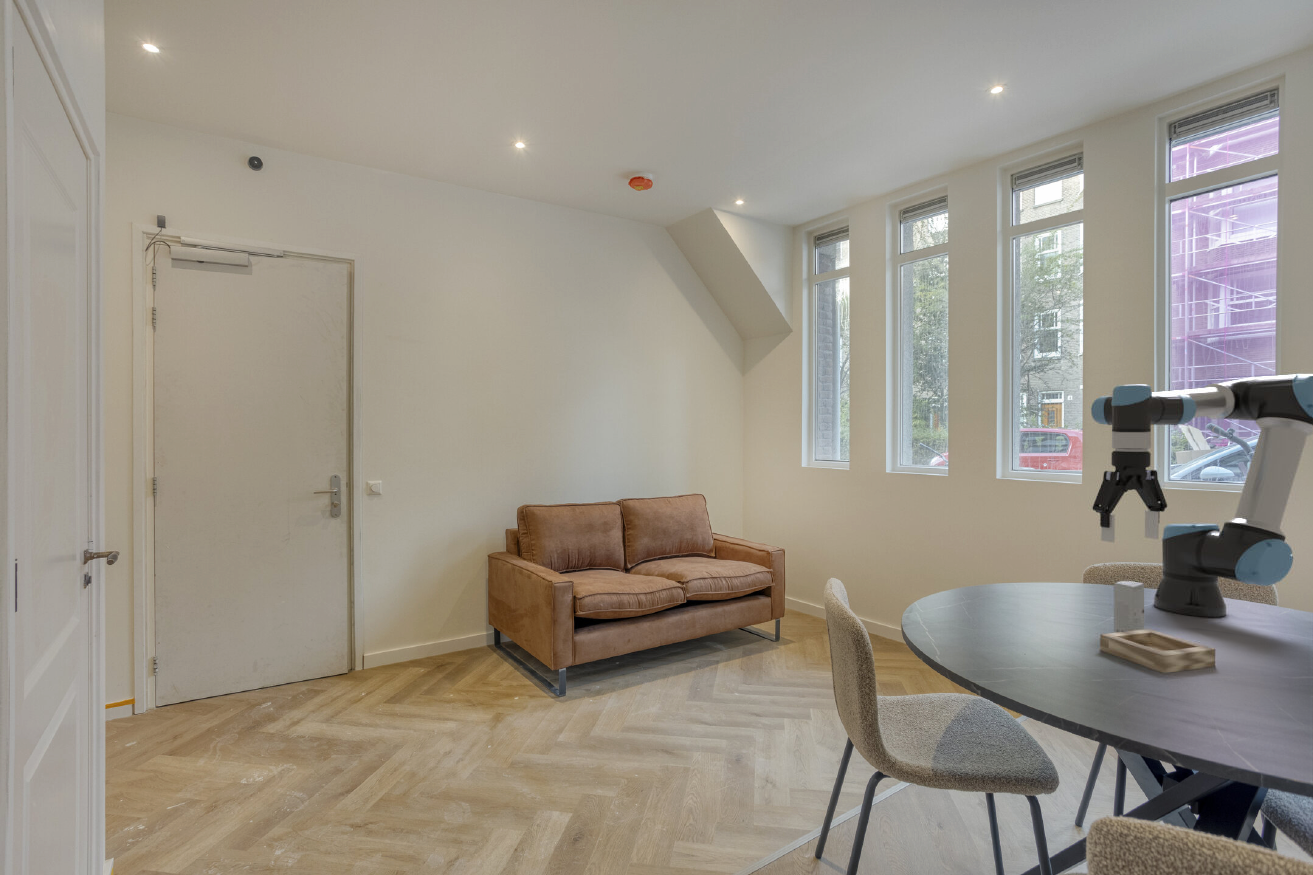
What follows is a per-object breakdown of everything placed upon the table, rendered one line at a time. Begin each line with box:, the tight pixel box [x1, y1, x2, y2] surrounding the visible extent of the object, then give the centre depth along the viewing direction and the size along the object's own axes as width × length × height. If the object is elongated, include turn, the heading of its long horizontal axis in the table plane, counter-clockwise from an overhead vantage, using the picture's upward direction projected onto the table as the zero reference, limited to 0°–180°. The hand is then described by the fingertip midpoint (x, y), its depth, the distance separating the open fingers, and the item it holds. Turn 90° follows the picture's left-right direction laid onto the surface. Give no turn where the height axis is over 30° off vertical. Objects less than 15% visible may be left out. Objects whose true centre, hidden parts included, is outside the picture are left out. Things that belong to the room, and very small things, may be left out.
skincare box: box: [1113, 580, 1145, 633], centre depth 158 cm, size 6×4×12 cm
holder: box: [1099, 628, 1216, 674], centre depth 142 cm, size 14×14×4 cm
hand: (1129, 539), depth 157 cm, fingers open, 13 cm apart
